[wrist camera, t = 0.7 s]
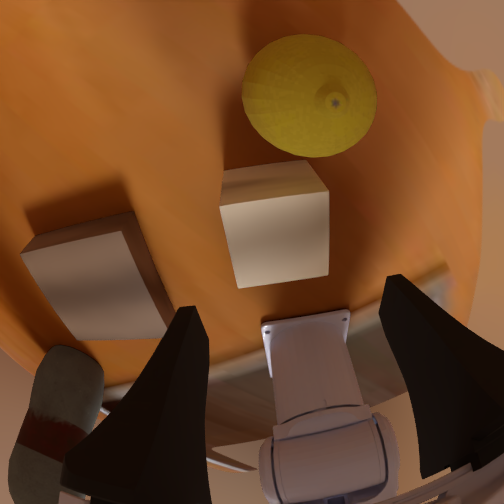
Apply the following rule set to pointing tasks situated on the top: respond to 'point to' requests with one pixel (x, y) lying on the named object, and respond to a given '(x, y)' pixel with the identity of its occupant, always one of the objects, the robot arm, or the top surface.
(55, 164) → the top surface
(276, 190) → the maple cube
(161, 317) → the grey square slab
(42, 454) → the bottle
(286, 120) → the lemon
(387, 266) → the top surface
